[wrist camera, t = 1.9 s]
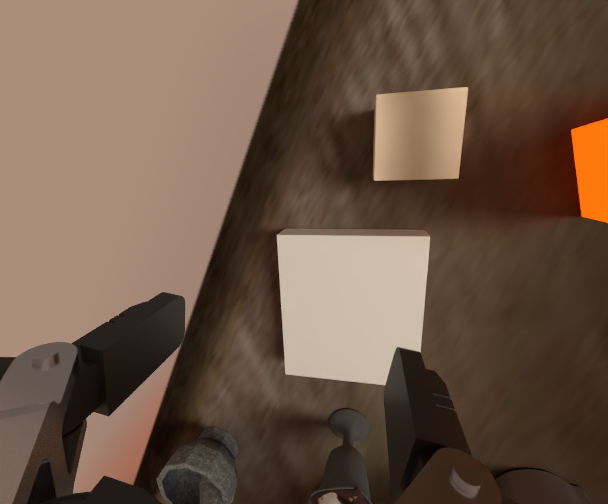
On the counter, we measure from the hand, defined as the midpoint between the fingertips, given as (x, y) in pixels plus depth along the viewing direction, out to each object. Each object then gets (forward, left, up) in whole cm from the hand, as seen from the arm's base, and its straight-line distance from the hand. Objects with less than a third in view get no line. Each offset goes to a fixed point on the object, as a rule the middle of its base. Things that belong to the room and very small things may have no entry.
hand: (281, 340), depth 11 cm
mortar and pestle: (+16, +32, -21) cm, 42 cm away
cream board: (-2, +8, -21) cm, 22 cm away
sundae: (-2, +25, -21) cm, 33 cm away
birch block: (-7, -8, -21) cm, 23 cm away
